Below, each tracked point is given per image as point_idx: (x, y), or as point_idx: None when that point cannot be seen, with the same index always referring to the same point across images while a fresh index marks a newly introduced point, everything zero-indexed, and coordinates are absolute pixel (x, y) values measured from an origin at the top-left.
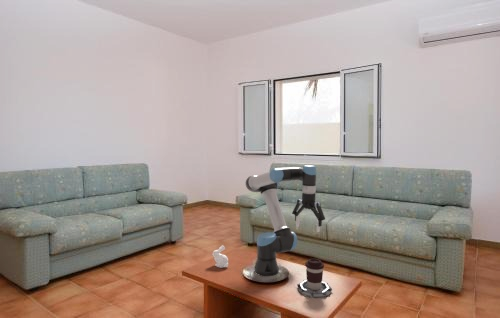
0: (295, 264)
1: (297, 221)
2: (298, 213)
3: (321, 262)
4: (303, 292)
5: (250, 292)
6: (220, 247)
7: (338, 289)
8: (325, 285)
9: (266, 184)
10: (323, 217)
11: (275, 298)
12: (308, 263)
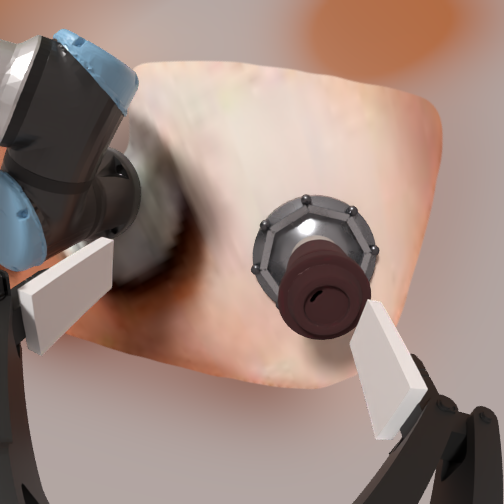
0: (166, 65)
1: (78, 311)
2: (20, 371)
3: (359, 292)
4: None
5: (146, 350)
6: None
7: (393, 214)
8: (352, 232)
9: None
10: (480, 437)
11: (221, 356)
12: (299, 325)
